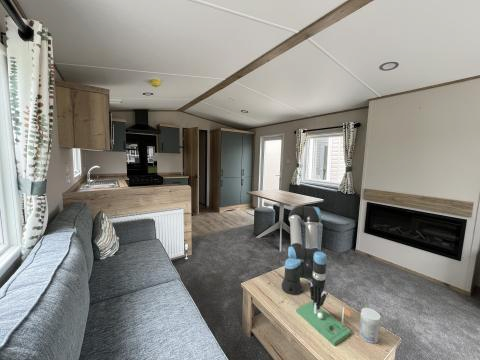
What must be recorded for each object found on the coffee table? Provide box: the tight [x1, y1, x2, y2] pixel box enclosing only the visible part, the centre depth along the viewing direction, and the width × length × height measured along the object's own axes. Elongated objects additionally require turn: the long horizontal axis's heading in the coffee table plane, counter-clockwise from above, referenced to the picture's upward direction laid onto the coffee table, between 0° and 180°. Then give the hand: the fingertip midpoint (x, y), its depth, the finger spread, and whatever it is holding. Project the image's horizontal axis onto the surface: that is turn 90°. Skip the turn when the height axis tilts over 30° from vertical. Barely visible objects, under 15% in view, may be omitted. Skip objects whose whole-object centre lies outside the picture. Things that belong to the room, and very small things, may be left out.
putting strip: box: [295, 300, 352, 346], centre depth 129 cm, size 28×15×14 cm, turn 31°
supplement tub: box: [358, 307, 382, 344], centre depth 119 cm, size 10×10×15 cm
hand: (316, 312), depth 132 cm, fingers closed
